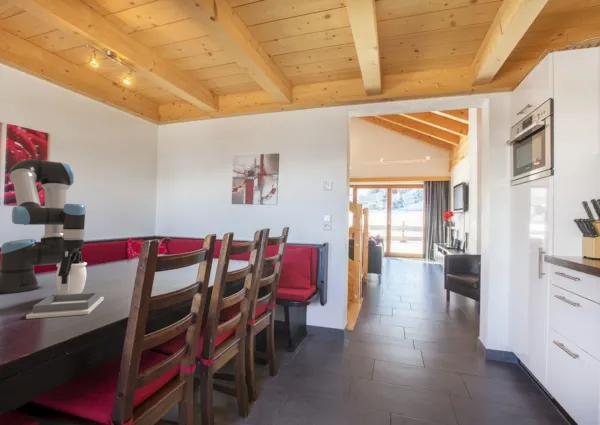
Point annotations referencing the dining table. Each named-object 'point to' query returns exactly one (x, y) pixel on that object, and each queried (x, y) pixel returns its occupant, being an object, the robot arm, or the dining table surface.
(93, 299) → the socket board
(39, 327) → the dining table surface
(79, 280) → the jar
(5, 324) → the dining table surface
